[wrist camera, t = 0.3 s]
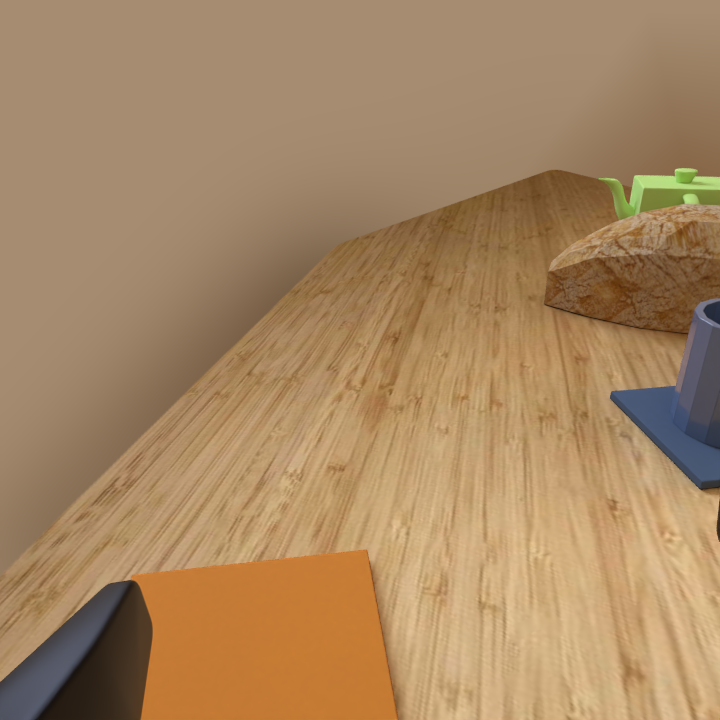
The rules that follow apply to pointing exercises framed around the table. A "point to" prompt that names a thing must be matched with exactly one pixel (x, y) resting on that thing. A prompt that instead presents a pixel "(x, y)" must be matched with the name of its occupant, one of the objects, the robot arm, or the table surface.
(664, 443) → the slate mat
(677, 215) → the bread
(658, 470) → the table surface
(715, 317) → the blue cup
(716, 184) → the teapot
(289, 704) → the amber mat
